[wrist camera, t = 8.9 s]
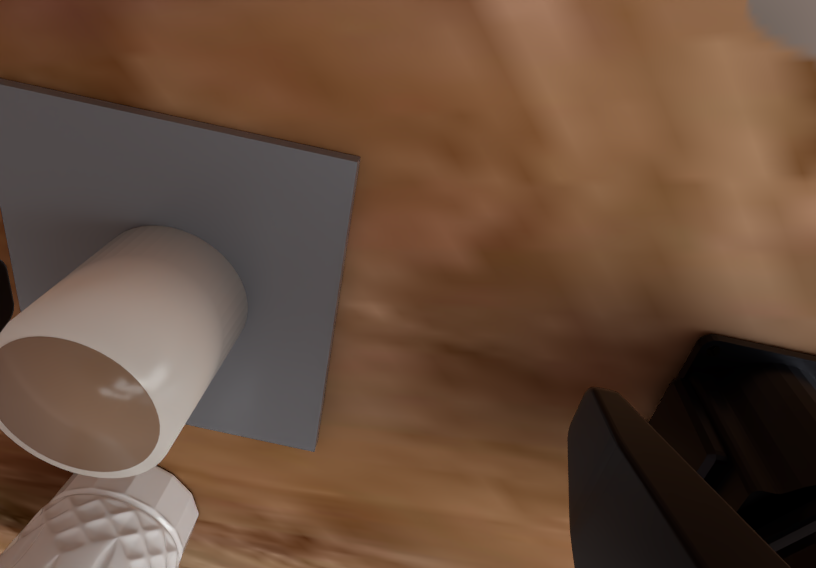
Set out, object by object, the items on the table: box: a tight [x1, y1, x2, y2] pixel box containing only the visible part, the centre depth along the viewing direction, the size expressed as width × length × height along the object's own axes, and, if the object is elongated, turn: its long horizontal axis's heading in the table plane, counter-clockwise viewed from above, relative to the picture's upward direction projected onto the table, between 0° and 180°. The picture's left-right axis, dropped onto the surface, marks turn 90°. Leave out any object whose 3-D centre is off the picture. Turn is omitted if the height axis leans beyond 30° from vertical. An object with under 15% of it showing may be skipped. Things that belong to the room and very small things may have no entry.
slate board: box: [0, 78, 360, 452], centre depth 23 cm, size 13×14×1 cm
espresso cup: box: [0, 226, 248, 478], centre depth 20 cm, size 6×8×7 cm
